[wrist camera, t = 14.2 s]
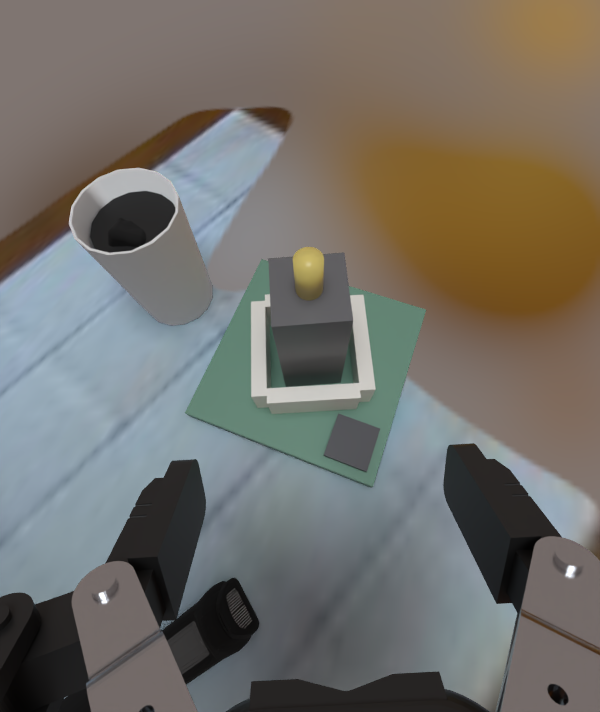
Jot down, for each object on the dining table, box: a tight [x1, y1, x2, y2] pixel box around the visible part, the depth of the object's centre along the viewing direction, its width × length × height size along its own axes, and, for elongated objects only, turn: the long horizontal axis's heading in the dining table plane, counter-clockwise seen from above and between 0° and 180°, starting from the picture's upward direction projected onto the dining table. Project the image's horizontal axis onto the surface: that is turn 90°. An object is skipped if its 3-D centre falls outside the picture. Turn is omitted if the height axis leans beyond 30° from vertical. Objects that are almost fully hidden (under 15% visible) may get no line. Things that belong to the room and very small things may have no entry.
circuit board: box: [185, 260, 426, 487], centre depth 29 cm, size 14×14×2 cm
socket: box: [251, 294, 376, 414], centre depth 27 cm, size 8×8×3 cm
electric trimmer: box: [58, 578, 259, 712], centre depth 22 cm, size 4×15×3 cm, turn 123°
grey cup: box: [69, 168, 213, 326], centre depth 28 cm, size 7×7×10 cm
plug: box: [268, 247, 353, 387], centre depth 23 cm, size 4×4×12 cm
